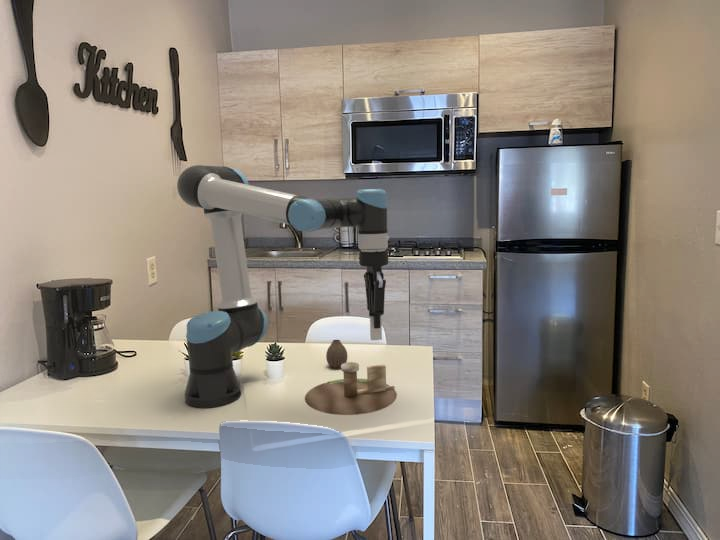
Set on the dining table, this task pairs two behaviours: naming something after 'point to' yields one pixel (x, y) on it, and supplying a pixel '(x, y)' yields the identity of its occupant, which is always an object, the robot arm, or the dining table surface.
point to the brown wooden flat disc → (348, 398)
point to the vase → (336, 354)
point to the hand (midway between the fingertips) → (376, 339)
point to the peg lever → (374, 379)
